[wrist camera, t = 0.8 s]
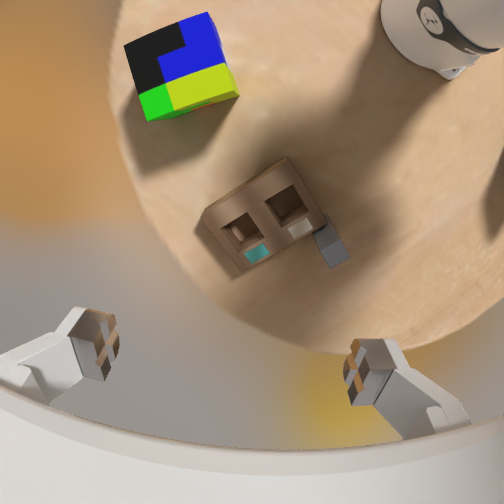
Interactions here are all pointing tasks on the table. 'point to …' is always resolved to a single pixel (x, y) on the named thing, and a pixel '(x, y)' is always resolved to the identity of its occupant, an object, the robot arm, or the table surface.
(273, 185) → the socket block
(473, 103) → the table surface
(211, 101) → the puzzle toy
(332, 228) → the plug
